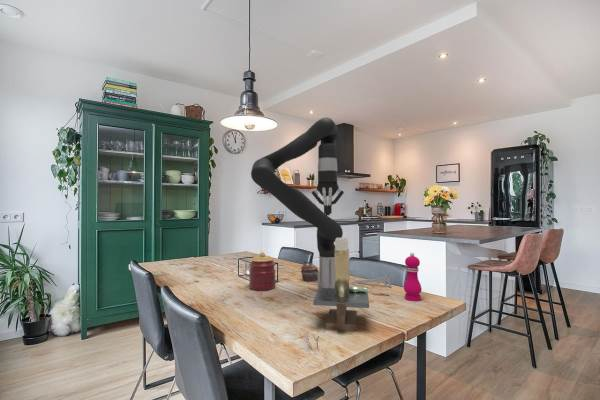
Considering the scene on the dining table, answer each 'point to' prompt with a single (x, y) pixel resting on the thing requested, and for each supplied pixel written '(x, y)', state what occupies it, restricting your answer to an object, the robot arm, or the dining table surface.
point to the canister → (262, 273)
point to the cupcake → (309, 272)
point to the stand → (342, 319)
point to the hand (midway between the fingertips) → (327, 215)
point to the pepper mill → (412, 279)
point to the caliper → (378, 280)
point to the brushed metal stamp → (342, 283)
